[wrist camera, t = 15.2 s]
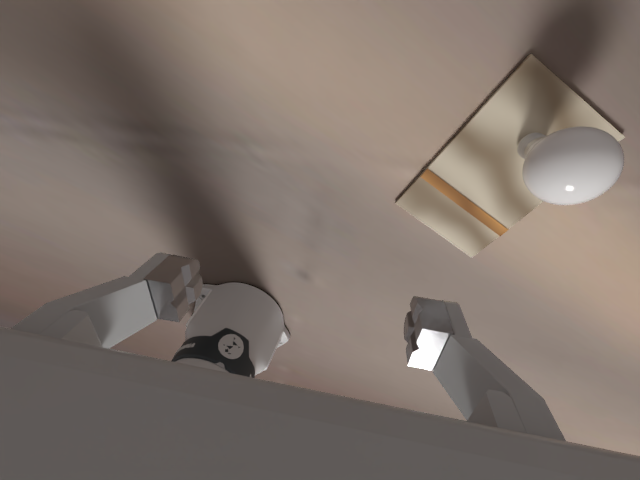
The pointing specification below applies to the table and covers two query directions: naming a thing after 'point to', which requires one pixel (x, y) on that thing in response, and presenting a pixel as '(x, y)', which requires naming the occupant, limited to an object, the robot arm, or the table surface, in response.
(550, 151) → the lightbulb
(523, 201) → the board
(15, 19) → the table surface
